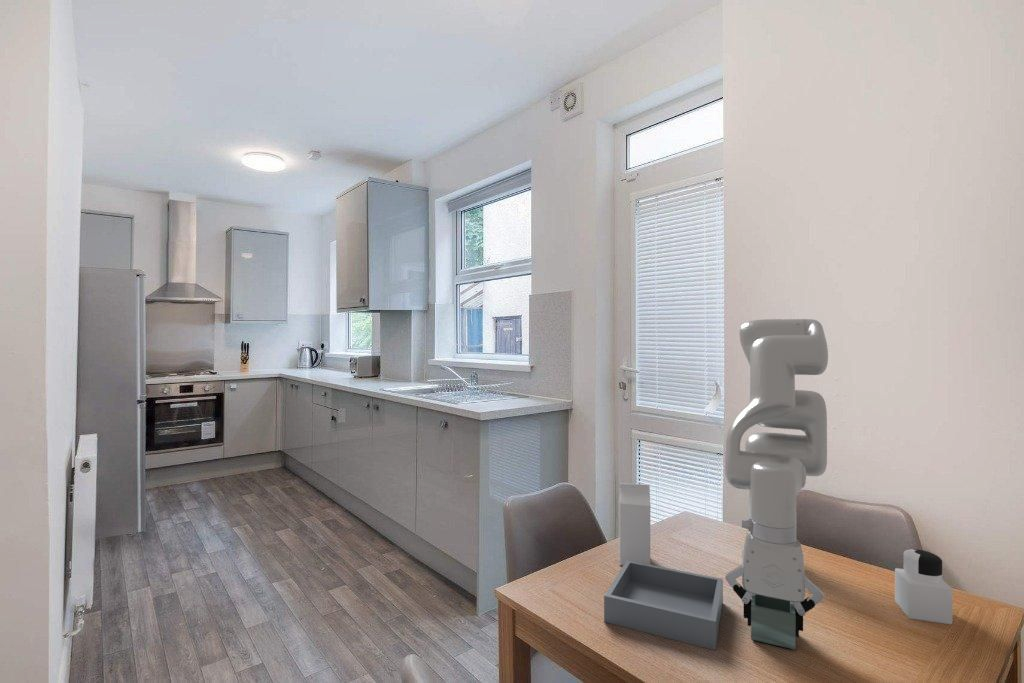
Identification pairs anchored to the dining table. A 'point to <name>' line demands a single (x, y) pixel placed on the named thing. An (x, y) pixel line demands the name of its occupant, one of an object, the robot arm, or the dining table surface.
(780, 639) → the teal crate
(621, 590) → the charcoal crate
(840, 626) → the dining table surface
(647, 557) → the milk carton
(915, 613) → the medicine bottle
